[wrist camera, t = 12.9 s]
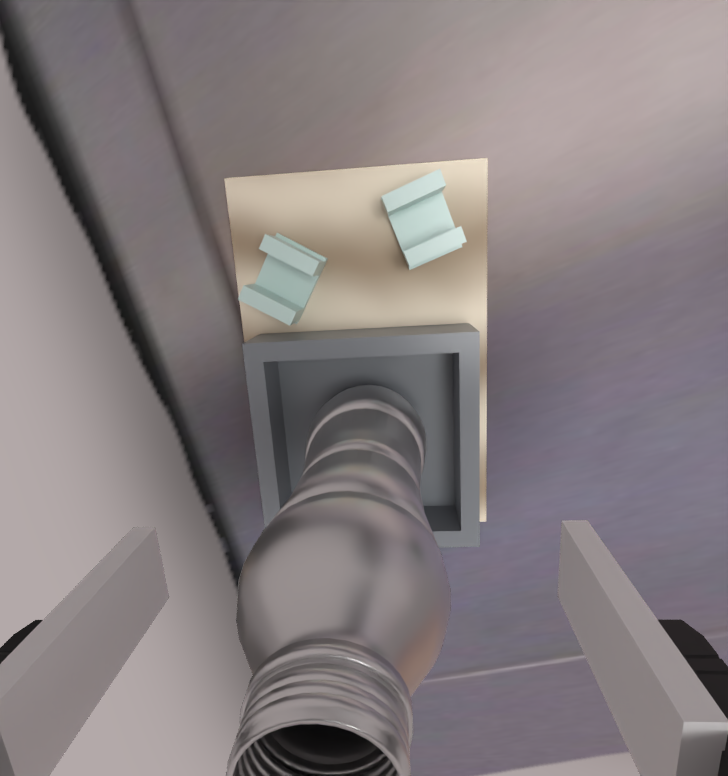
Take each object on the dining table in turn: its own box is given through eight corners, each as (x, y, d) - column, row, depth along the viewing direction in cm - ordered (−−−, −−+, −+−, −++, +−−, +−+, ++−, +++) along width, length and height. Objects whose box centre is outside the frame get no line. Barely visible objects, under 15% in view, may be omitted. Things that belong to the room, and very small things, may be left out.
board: (230, 181, 27) (224, 178, 26) (484, 161, 26) (487, 157, 25) (271, 518, 32) (267, 526, 31) (483, 513, 31) (486, 521, 30)
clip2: (279, 233, 26) (266, 230, 24) (327, 258, 27) (321, 258, 24) (251, 299, 27) (236, 303, 25) (298, 322, 28) (288, 329, 25)
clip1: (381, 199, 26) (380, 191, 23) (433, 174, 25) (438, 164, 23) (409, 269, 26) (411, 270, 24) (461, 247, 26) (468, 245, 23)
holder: (260, 333, 28) (241, 343, 25) (468, 322, 27) (479, 331, 24) (281, 519, 31) (267, 550, 28) (469, 514, 30) (479, 546, 27)
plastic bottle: (443, 402, 28) (559, 730, 8) (394, 498, 29) (397, 953, 10) (340, 357, 27) (215, 590, 8) (297, 457, 29) (109, 846, 10)
